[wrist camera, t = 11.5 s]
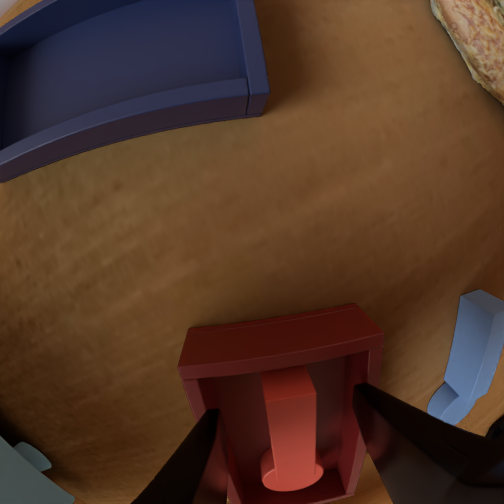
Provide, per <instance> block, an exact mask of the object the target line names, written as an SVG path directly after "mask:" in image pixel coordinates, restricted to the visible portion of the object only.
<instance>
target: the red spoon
mask: <svg viewBox="0 0 504 504" xmlns="http://www.w3.org/2000/svg"><path fill="white" fill-rule="evenodd" d="M260 375H261V381H262V388H263V395H264V401H265V408H266V414H267V421H268V427H269V434H270V440H271V448H269V449H267V450H266V451H265V452H264V453H263V454H262V456H261V458H260V466H261V475H262V482H263V484H264V485H265V486H266V487H267V488H269V489H271V490H275V491H294V490H299V489H302V488H305V487H308V486H310V485H312V484H314V483H315V482H317V481H318V480H319V479H320V478H321V477H322V475H323V472H324V468H323V465H322V462H321V459H320V456H319V452H318V449H317V448H316V391H315V388H314V385H313V383H312V380H311V378H310V375H309V373H308V370H307V368H306V365H305V364H303V365H298V366H292V367H287V368H281V369H274V370H268V371H261V372H260Z"/></svg>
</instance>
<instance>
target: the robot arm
mask: <svg viewBox="0 0 504 504" xmlns="http://www.w3.org/2000/svg"><path fill="white" fill-rule="evenodd" d="M352 407H353V411H354V414H355V417H356V420H357V423H358V426H359V429H360V432H361V435H362V438H363V441H364V444H365V446H366V448H367V450H368V452H369V454H370V456H371V458H372V460H373V463H374V465H375V467H376V469H377V471H378V473H379V475H380V477H381V479H382V481H383V483H384V485H385V487H386V490H387V492H388V494H389V496H390V498H391V500H392V502H393V504H504V418H502V419H501V420H500V421H498V422H497V423H495V424H494V425H493V426H492V427H491V429H490V430H489V432H488V434H487V436H486V437H484V436H480V435H477V434H474V433H471V432H468V431H465V430H463V429H461V428H458V427H456V426H453V425H451V424H449V423H447V422H445V423H444V421H442V420H440V419H438V418H436V417H434V416H432V415H430V414H428V413H426V412H424V411H422V410H420V409H418V408H416V407H413V406H411V405H409V404H407V403H406V402H404V401H402V400H400V399H398V398H396V397H394V396H392V395H390V394H388V393H386V392H384V391H382V390H380V389H378V388H377V387H375V386H373V385H371V384H369V383H367V382H363V383H359V384H356V385H354V387H353V397H352ZM228 470H229V468H228V452H227V438H226V427H225V423H224V420H223V416H222V413H221V410H220V409H219V408H215V409H207V410H206V411H205V413H204V414H203V415H202V417H201V418H200V419H199V421H198V422H197V423H196V425H195V426H194V427H193V429H192V430H191V431H190V433H189V434H188V435H187V437H186V438H185V439H184V441H183V442H182V443H181V445H180V446H179V447H178V448H177V450H176V451H175V452H174V454H173V455H172V456H171V457H170V459H169V460H168V461H167V462H166V464H165V465H164V466H163V467H162V469H161V470H160V471H159V472H158V474H157V475H156V476H155V477H154V479H153V480H152V481H151V482H150V483H149V484H148V486H147V487H146V488H145V489H144V490H143V491H142V492H141V494H140V495H139V496H138V497H137V498H136V499H135V500H134V501H133V502H132V503H131V504H226V502H227V487H228Z"/></svg>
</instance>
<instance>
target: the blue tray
mask: <svg viewBox="0 0 504 504" xmlns="http://www.w3.org/2000/svg"><path fill="white" fill-rule="evenodd" d="M269 94H270V86H269V79H268V73H267V68H266V62H265V56H264V50H263V45H262V39H261V34H260V29H259V23H258V18H257V13H256V8H255V3H254V0H43V1H41V2H39V3H37V4H36V5H34V6H32V7H31V8H29V9H27V10H26V11H24V12H23V13H21V14H20V15H18V16H16V17H15V18H13V19H12V20H11V21H9V22H8V23H6V24H5V25H3V26H2V27H1V28H0V183H4V182H6V181H9V180H11V179H13V178H15V177H18V176H20V175H22V174H25V173H27V172H30V171H32V170H35V169H37V168H40V167H42V166H45V165H48V164H50V163H53V162H56V161H59V160H61V159H64V158H67V157H70V156H73V155H76V154H79V153H82V152H85V151H89V150H92V149H95V148H98V147H102V146H105V145H109V144H112V143H116V142H120V141H124V140H127V139H131V138H135V137H140V136H144V135H148V134H152V133H157V132H162V131H166V130H171V129H176V128H182V127H187V126H193V125H199V124H205V123H211V122H218V121H225V120H233V119H241V118H250V117H260V116H261V115H262V112H263V110H264V107H265V105H266V102H267V99H268V97H269Z"/></svg>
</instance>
